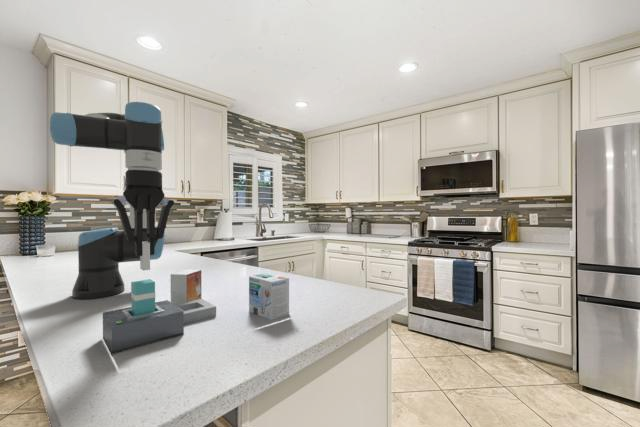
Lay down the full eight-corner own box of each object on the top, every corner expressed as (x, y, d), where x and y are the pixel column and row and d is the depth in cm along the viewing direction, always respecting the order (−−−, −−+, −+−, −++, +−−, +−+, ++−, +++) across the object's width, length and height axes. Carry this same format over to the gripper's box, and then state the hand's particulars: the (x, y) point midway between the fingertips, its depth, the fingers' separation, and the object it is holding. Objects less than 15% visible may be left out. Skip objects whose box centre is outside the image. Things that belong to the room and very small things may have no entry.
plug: (131, 333, 70) (130, 281, 70) (150, 328, 73) (150, 279, 73) (135, 338, 67) (134, 285, 67) (155, 333, 70) (155, 282, 70)
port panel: (102, 338, 70) (102, 310, 70) (167, 322, 79) (167, 298, 79) (112, 356, 61) (111, 325, 61) (183, 336, 70) (183, 309, 70)
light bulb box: (248, 313, 87) (247, 275, 86) (267, 307, 91) (266, 272, 91) (271, 322, 79) (270, 281, 79) (290, 315, 84) (290, 277, 84)
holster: (166, 316, 84) (166, 306, 83) (201, 308, 90) (201, 298, 90) (178, 327, 76) (178, 315, 76) (216, 317, 83) (216, 306, 83)
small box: (186, 309, 90) (186, 274, 90) (170, 308, 91) (169, 274, 91) (202, 301, 97) (202, 269, 97) (186, 300, 99) (186, 269, 98)
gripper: (114, 166, 64) (115, 276, 65) (178, 171, 73) (179, 267, 74) (108, 169, 70) (109, 270, 70) (168, 173, 78) (169, 263, 79)
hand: (145, 269), depth 72 cm, fingers closed
